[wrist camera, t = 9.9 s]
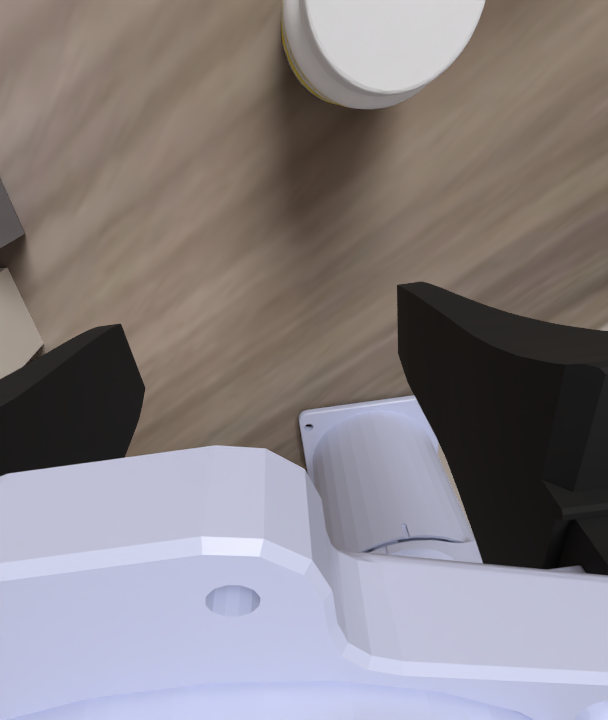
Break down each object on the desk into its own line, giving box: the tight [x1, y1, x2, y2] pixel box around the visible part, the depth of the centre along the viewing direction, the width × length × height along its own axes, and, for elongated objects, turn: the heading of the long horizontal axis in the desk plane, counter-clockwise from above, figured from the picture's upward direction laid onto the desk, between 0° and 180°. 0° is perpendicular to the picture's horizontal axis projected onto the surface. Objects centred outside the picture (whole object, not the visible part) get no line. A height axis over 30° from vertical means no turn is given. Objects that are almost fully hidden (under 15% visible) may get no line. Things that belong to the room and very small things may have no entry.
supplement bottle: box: [281, 0, 485, 109], centre depth 13 cm, size 5×5×8 cm
